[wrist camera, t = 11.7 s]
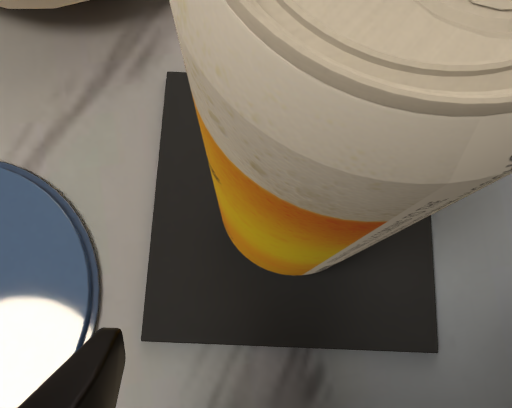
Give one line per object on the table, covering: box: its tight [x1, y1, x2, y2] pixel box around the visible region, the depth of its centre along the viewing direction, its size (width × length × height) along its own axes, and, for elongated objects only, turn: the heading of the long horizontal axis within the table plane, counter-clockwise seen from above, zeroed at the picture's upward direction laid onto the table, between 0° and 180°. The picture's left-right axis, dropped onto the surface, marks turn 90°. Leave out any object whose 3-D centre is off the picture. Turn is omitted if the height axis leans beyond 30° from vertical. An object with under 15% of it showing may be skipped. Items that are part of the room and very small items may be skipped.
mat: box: [141, 72, 438, 353], centre depth 19 cm, size 12×12×1 cm
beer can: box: [169, 0, 512, 276], centre depth 12 cm, size 6×6×15 cm
